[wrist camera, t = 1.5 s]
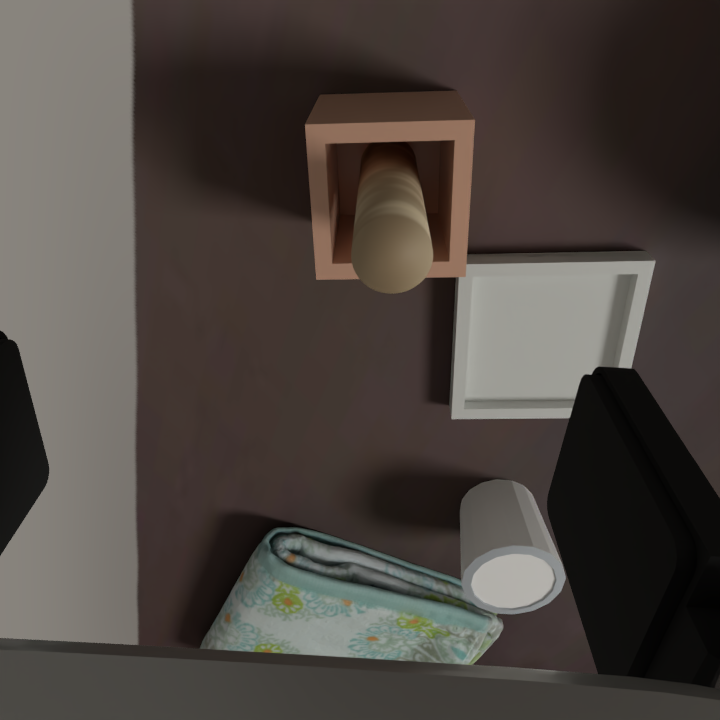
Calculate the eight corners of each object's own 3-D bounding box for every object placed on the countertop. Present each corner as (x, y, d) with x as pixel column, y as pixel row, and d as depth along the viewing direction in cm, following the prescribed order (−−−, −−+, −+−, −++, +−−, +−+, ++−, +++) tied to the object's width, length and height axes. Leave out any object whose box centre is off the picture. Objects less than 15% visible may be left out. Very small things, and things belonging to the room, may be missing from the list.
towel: (407, 697, 62) (409, 752, 58) (200, 635, 58) (185, 689, 54) (505, 587, 53) (516, 642, 49) (269, 505, 49) (258, 557, 45)
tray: (646, 250, 37) (655, 260, 36) (613, 404, 43) (620, 417, 42) (456, 254, 38) (459, 264, 36) (449, 405, 43) (451, 419, 42)
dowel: (416, 135, 33) (434, 215, 22) (415, 191, 35) (432, 292, 24) (360, 136, 34) (349, 217, 22) (361, 192, 35) (352, 294, 24)
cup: (456, 90, 33) (474, 119, 26) (450, 222, 37) (465, 276, 30) (319, 94, 33) (305, 124, 27) (327, 225, 37) (316, 279, 30)
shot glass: (556, 520, 49) (581, 597, 43) (474, 549, 51) (486, 627, 45) (522, 459, 46) (543, 533, 40) (436, 493, 48) (444, 568, 42)
